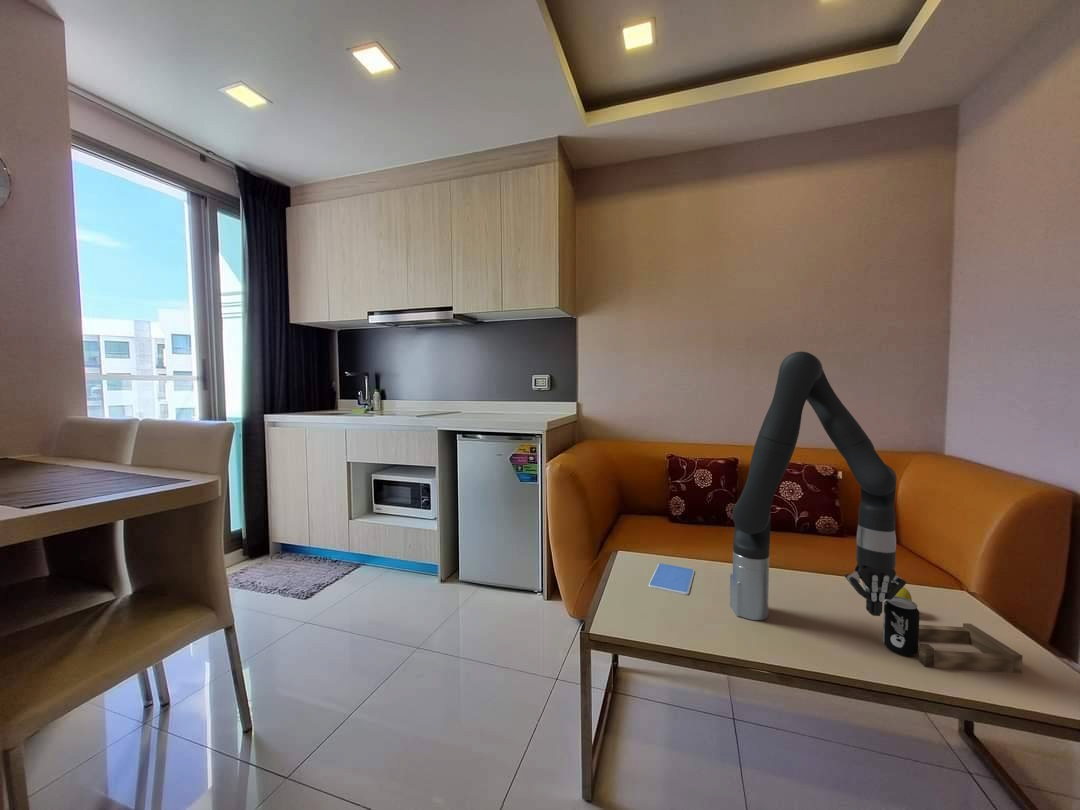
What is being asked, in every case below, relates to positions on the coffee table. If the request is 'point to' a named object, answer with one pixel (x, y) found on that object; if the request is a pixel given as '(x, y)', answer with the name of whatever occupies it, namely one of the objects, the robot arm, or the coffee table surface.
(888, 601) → the beverage can
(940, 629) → the cradle
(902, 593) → the lemon
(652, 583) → the tablet computer
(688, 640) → the coffee table surface
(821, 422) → the robot arm
